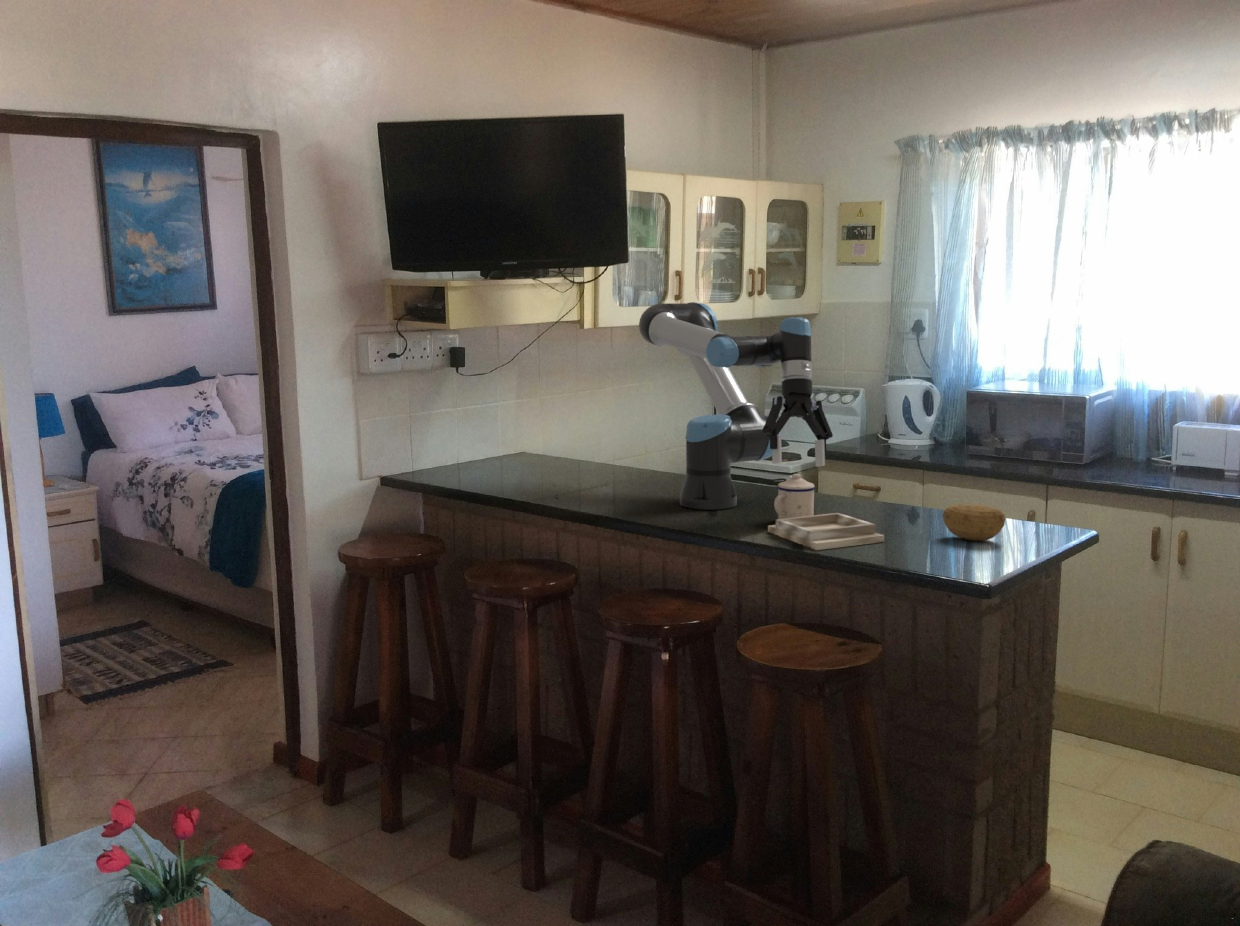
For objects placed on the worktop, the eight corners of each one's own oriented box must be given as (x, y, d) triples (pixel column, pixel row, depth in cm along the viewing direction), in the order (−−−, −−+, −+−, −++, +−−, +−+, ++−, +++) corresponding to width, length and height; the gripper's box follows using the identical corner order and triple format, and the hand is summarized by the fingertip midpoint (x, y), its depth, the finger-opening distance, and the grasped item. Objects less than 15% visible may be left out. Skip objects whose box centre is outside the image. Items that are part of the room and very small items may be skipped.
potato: (954, 531, 252) (955, 498, 251) (1011, 541, 242) (1013, 506, 241) (932, 538, 246) (934, 504, 244) (991, 548, 236) (993, 512, 234)
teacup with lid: (793, 515, 272) (794, 470, 270) (822, 521, 265) (823, 474, 263) (761, 522, 264) (761, 475, 262) (789, 528, 257) (790, 480, 255)
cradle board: (768, 531, 254) (768, 517, 253) (832, 524, 261) (832, 510, 260) (816, 550, 236) (816, 534, 235) (883, 541, 243) (884, 526, 242)
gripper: (766, 372, 260) (768, 459, 258) (845, 382, 273) (847, 465, 270) (747, 377, 267) (749, 463, 264) (825, 387, 279) (827, 468, 276)
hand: (798, 464), depth 267 cm, fingers open, 13 cm apart
